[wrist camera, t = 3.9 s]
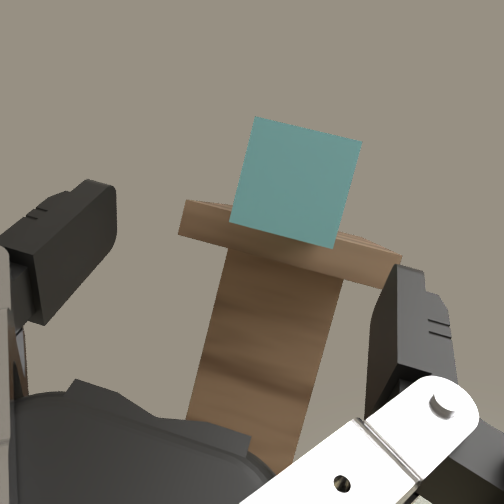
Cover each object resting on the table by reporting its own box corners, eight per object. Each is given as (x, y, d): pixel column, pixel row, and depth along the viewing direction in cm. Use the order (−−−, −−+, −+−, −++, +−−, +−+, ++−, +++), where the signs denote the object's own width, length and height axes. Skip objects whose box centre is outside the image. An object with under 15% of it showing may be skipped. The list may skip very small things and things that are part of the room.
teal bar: (332, 249, 15) (362, 141, 15) (228, 221, 15) (255, 116, 15) (319, 227, 41) (330, 188, 40) (281, 217, 41) (291, 178, 41)
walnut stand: (284, 781, 28) (440, 265, 24) (38, 686, 29) (152, 190, 26) (295, 545, 47) (382, 242, 44) (148, 496, 49) (221, 201, 46)
